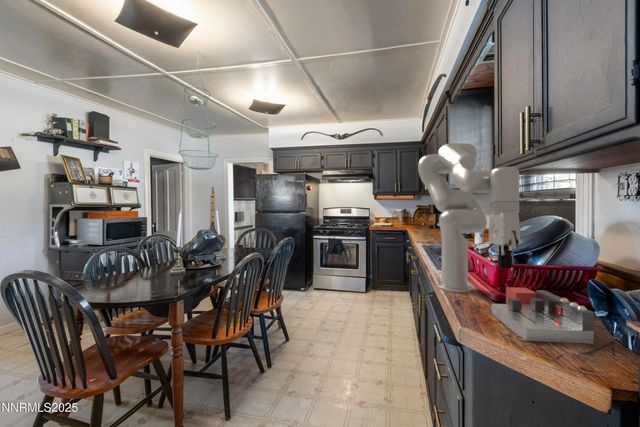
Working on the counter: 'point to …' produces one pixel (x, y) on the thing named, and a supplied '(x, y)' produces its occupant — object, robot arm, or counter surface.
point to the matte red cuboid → (520, 294)
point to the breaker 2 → (537, 304)
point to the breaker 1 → (515, 304)
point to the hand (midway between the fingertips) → (504, 267)
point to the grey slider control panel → (549, 320)
